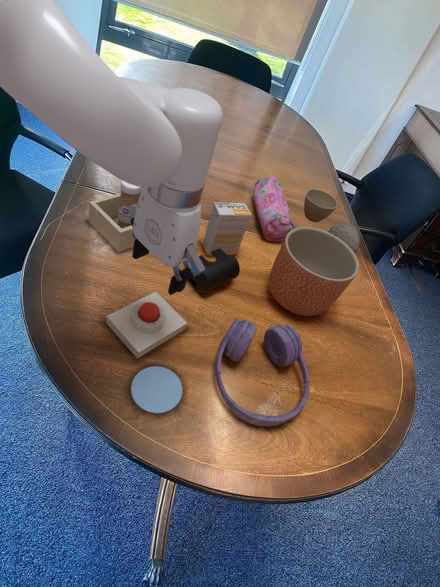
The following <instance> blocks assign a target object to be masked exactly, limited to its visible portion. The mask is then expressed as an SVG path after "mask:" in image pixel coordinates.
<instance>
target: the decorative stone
mask: <svg viewBox="0 0 440 587" xmlns="http://www.w3.org/2000/svg"><path fill="white" fill-rule="evenodd" d="M327 232H329V233H331V234H333V235H335V236H336V237H338V238H339V239H341V240H342V241H343V242H345V243H346V244H347V245H348V246H349V247H350V248H351V250H352V251H353V252H354V254H355V255H356V254H357V253H358V250H359V248H360V234H359V230H358V229H357V227H356V226H355V225H354V224H352V223H351V222H347V221H341V222H338V223H334V224H333V225H332V226H330V228H329V229H328V230H327Z"/></svg>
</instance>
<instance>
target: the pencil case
mask: <svg viewBox="0 0 440 587" xmlns="http://www.w3.org/2000/svg"><path fill="white" fill-rule="evenodd" d="M253 186H254V187H253V191H252V195H253V201H254V206H255V211H256V214H257V218H258V221H259V225H260V227H261V230H262V234H263V237H264V238H265V239H266V240H267V241H268V242H281V241H284V240H285V238H286V236H287V234H288V233H289V232H290V231H291V230H293V229H295V228H296V224H295V222H294V221H293V219H292V217H291V216H290V208H289V205H288V201H287V199H286V196H285V193H284V187H283V185H282V183H281V182H280V181H279V180H278V178H277V177H276V176H272V175H269V176H268V178H266V179H263V180H260V179H257V181H255V183H254V185H253Z"/></svg>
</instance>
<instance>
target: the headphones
mask: <svg viewBox="0 0 440 587" xmlns="http://www.w3.org/2000/svg"><path fill="white" fill-rule="evenodd" d="M257 329H258V327H257V325H256V324H255V323H254V322H250V321H249V320H247V319H243V320H241V319H239V318H237V317H235V318H234V320H233V321H232V323H231V325H230V326H229V328H228V329H227V331H226V333H225V335H224V337H223V338H222V340H221V342H220V343H219V349H218V352H217V355H216V359H215V364H214V375H215V380H216V386H217V388H218V392H219V394H220V396H221V398H222V400H223V402H224V404H225V405H226V406H227V407H228V408H229V410H230V411H231V412H232V413H233V414H234V415H235V416H237V417H238V418H239V419H241V420H242V421H244V422H246V423H248V424H250V425H254V426H256V427H257V426H259V427H275V426H279V425H283V424H284V423H286V422H288V421H290V420H291V419H293V418H294V417H296V416H297V415H298V414H299V413H300V412H301V411H302V410H303V409H304V408H305V406H306V403H307V402H308V399H309V396H310V382H311V380H310V379H311V378H310V373H309V368H308V366H307V365H308V364H307V362H306V360H305V357H304V355H303V341H302V338H301V335H300V333H299V332H298V331H297V329H296V328H295V327H293V326H292V325H289V324H286V325H284V324H278V325H273V326H270V327H268V328H267V329H266V331H265V333H264V334H263V344H264V350H265V351H266V354H267V356H268V357H269V359H270V361H272V362H273V363H274V364H275V365H276V366H278V367H288V366H290V365H291V364H292V363H294V362H297V364H298V367H299V369H300V373H301V377H302V384H303V385H304V387H303V392H302V396H301V399H300V400H299V402H298V404H297V405H296V406H295V407H294V408H293V409H291V410H290V411H288V412H286V413H284V414H280V415H264V414H258V413H255V412H252V411H250V410H247V409H245V408H243V407H242V406H240V405H239V404H238V403H236V401H235V400H233V398H232V397H231V396H230V395H229V393H228V392H227V390H226V388H225V386H224V384H223V380H222V377H221V372H222V370H221V368H222V365H221V364H222V357H223V354H224V355H225V356H226V357H228V358H229V359H230V360H231V361H233V362H238V361H240V360H241V358H242V357H243V355H244V354H245V352H246V351H247V349H248V347H249V346H250V344H251V342H252V340H253V338H254V336H255V335H256V332H257V331H258V330H257Z"/></svg>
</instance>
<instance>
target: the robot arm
mask: <svg viewBox="0 0 440 587" xmlns="http://www.w3.org/2000/svg"><path fill="white" fill-rule="evenodd" d="M0 88H1V89H2V90H3V91H4V92H5V93H6V94H8V95H9V96H10V97H11V98H12V99H14V100H15V101H16V102H17V103H19V104H20V105H21V107H24V108H25V109H26V110H27V112H30V114H32V115H33V116H34V117H35V118H36V119H37V120H39V121H40V122H41V123H42V124H44V126H46V127H47V128H48V129H49V130H50V131H52V132H53V133H54V134H55V135H56V136H58V137H59V138H60V139H61V141H63V142H65V143H66V144H67V145H68V146H70V147H71V148H72V149H73V150H75V151H76V152H77V153H80V155H82V156H83V157H85V158H86V159H87V160H89V161H90V162H92V163H94V164H95V165H97V166H98V167H99V168H102V169H103V170H104V171H105V172H108V173H110V174H111V175H113V176H114V177H116V178H118V179H119V180H120V181H121V180H122V181H125V182H127V183H129V184H132V185H135V186H139V187H143V189H142V192H141V194H140V197H139V201H138V204H134V205H130V206H129V211H130V216H131V217H132V219H131V225H132V227H133V233H132V235H133V238H134V239H135V240H134V247H132V249H133V250H132V255H131V258H133V259H134V260H138V259H140V258H143V257H145V256H148V255H149V253H151V254H152V255H153V256H154V257H155V258H156V259H157V260H158V261H159V262H160V263H161V264H162V265H164V266H166V267H167V268H169V269H172V271H173V274H174V275H172V276H171V277H170V281H169V285H168V290H167V293H168V294H169V296H172V295H174V294H176V293H181V292H182V291H184V290H185V289H186V285H187V282H188V280H187V279H192V278H194V277H195V276H197V275H199V274H201V273H202V272H204V271H205V267H204V265H203V263H202V261H201V260H200V258H199V256H200V255H199V254H198V252H197V250H196V248H197V244H198V240H199V234H200V230H201V223H202V222H201V220H202V205H201V200H202V196H203V193H204V189H205V185H206V181H207V177H208V174H209V170H210V167H211V163H212V159H213V156H214V152H215V149H216V145H217V142H218V138H219V134H220V131H221V127H222V123H223V110H222V106H221V105H220V103H219V102H218V101H217V100H216V99H215V98H214V97H213V96H211V95H209V94H207V93H206V92H203V91H201V90H198V89H195V88H189V87H175V88H167V87H163V86H158V85H155V84H152V83H147V82H144V81H140V80H137V79H134V78H129V77H124V76H118V75H117V74H116V73H115V72H114V71H113V70H112V68H111V67H110V66H109V65H108V64H107V63H106V62H105V61H104V60H103V59H102V58H101V57H100V56H99V54H98V53H97V52H96V51H95V50H94V49H93V47H92V46H91V45H90V44H89V42H87V40H86V39H85V38H84V36H83V35H82V34H81V33H80V32H79V30H78V29H77V28H76V27H75V25H74V24H73V22H72V21H71V19H70V18H69V17H68V16H67V14H66V13H65V12H64V10H63V9H62V8H61V6H60V5H59V4H58V3H57V1H55V0H0ZM180 264H183V269H182V270H181V267H180Z"/></svg>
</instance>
